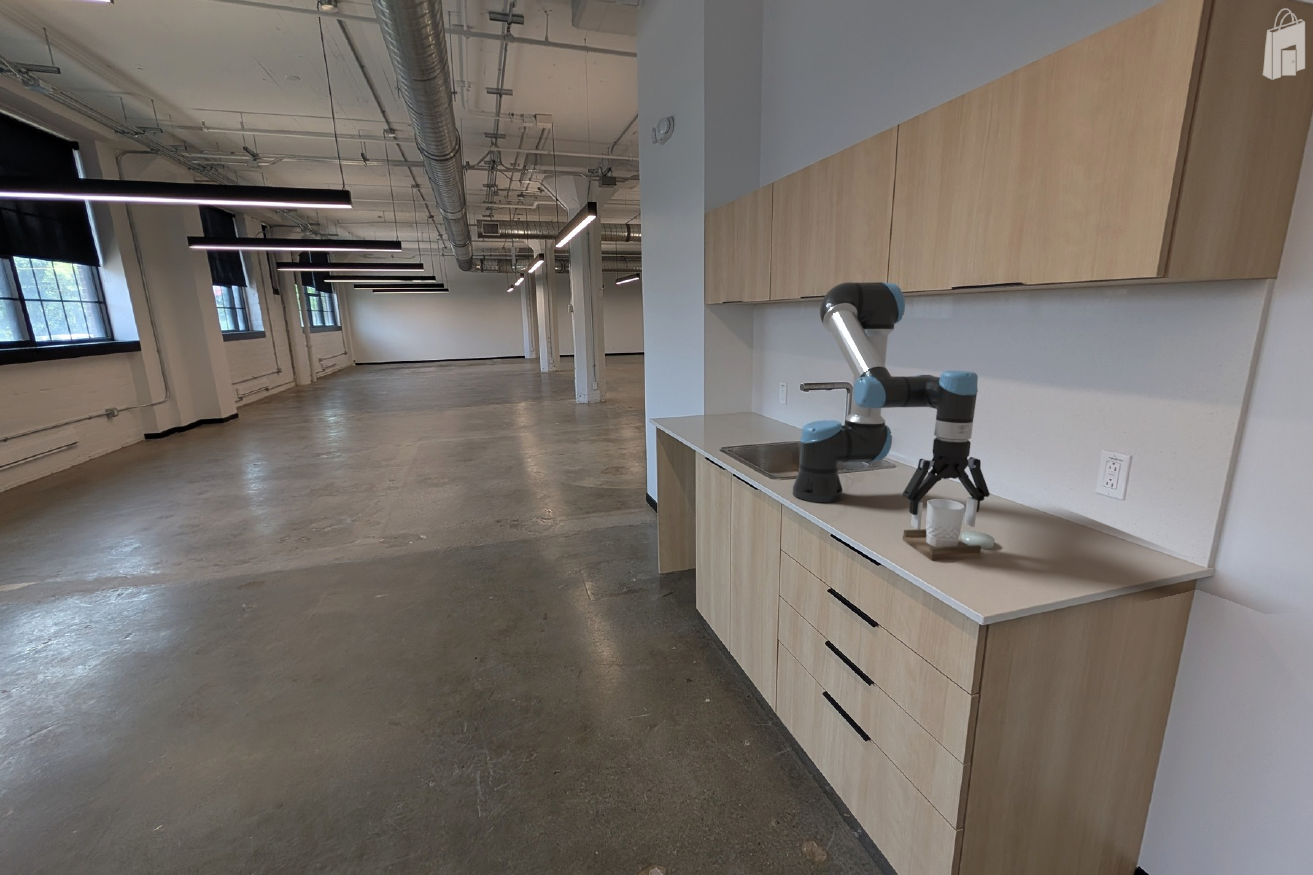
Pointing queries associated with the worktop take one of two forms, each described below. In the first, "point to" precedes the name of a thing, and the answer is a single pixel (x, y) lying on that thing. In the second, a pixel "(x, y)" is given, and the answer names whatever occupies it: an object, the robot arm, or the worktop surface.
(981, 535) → the pale mint domed disc
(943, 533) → the white cup
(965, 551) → the stand
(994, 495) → the worktop surface
